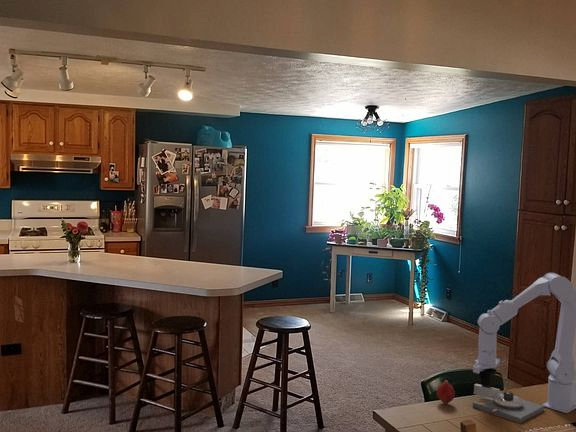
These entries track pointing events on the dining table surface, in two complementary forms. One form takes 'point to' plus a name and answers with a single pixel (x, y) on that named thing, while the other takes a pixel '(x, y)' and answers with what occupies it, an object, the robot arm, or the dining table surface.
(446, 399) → the onion
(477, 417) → the dining table surface
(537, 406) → the dial plate
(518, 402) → the dial
